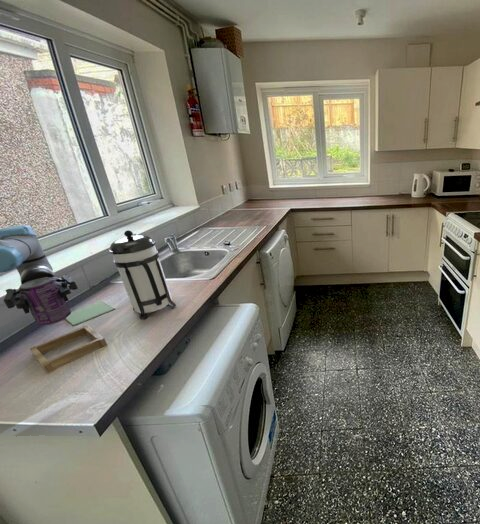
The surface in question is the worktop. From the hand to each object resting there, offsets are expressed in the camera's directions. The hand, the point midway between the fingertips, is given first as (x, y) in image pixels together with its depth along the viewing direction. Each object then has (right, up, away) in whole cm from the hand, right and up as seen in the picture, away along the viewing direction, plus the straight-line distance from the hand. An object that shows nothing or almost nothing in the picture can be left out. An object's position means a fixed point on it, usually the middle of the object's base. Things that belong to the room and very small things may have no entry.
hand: (45, 302), depth 76 cm
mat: (-15, -8, +29) cm, 34 cm away
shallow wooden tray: (-3, -16, +10) cm, 18 cm away
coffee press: (+10, -7, +29) cm, 32 cm away
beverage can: (-3, -6, +6) cm, 9 cm away
